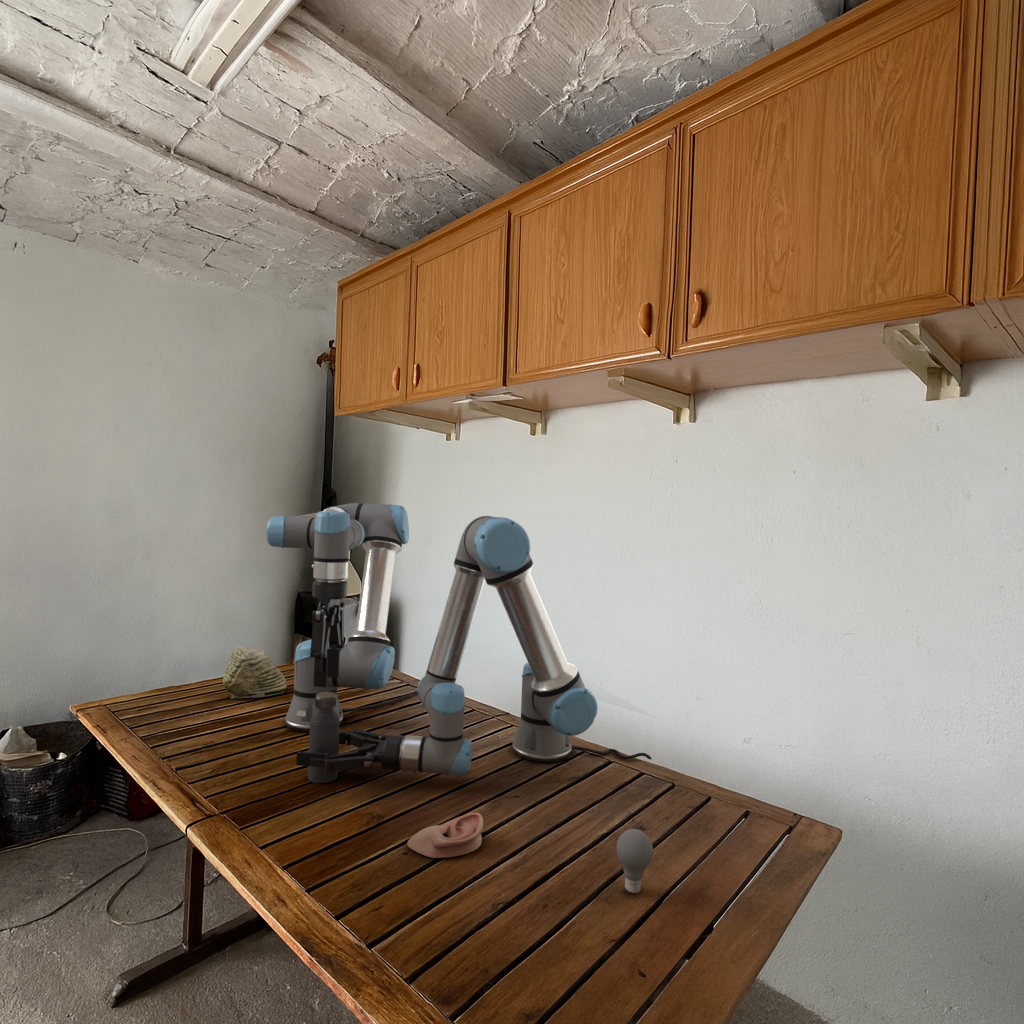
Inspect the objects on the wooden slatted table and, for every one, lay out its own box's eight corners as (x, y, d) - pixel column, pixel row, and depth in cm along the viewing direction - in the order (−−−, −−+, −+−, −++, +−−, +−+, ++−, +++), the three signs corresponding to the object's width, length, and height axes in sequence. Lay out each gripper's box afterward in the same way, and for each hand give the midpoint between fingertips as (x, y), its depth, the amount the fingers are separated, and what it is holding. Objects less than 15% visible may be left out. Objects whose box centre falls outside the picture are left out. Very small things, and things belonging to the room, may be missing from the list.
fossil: (218, 695, 195) (220, 647, 195) (278, 685, 208) (279, 640, 207) (228, 703, 189) (230, 653, 188) (289, 692, 201) (290, 645, 201)
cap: (330, 709, 140) (330, 698, 140) (311, 707, 141) (311, 696, 141) (339, 703, 145) (339, 692, 145) (321, 701, 146) (321, 691, 145)
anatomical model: (401, 831, 114) (423, 801, 125) (400, 853, 114) (422, 821, 125) (472, 842, 111) (488, 811, 122) (471, 864, 111) (487, 831, 122)
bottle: (329, 784, 139) (332, 702, 139) (302, 781, 141) (305, 699, 140) (342, 772, 146) (345, 693, 145) (316, 769, 147) (319, 691, 147)
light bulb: (610, 879, 108) (613, 822, 108) (644, 879, 109) (647, 822, 109) (619, 902, 102) (622, 840, 102) (655, 901, 103) (658, 840, 103)
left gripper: (330, 574, 152) (326, 669, 153) (295, 584, 133) (291, 693, 133) (360, 575, 152) (356, 671, 152) (330, 586, 132) (326, 696, 133)
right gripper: (388, 794, 130) (285, 787, 131) (413, 748, 154) (326, 742, 155) (389, 758, 130) (287, 751, 131) (414, 718, 154) (327, 712, 155)
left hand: (326, 681), depth 143 cm, fingers open, 7 cm apart
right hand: (308, 746), depth 143 cm, fingers open, 12 cm apart
